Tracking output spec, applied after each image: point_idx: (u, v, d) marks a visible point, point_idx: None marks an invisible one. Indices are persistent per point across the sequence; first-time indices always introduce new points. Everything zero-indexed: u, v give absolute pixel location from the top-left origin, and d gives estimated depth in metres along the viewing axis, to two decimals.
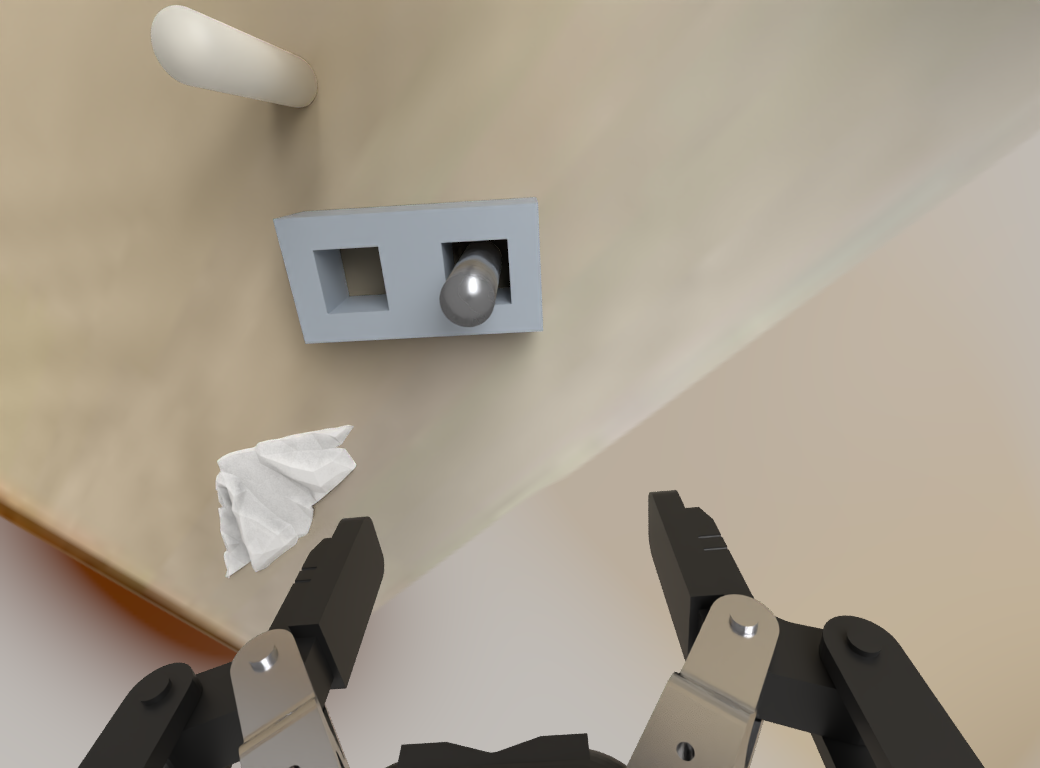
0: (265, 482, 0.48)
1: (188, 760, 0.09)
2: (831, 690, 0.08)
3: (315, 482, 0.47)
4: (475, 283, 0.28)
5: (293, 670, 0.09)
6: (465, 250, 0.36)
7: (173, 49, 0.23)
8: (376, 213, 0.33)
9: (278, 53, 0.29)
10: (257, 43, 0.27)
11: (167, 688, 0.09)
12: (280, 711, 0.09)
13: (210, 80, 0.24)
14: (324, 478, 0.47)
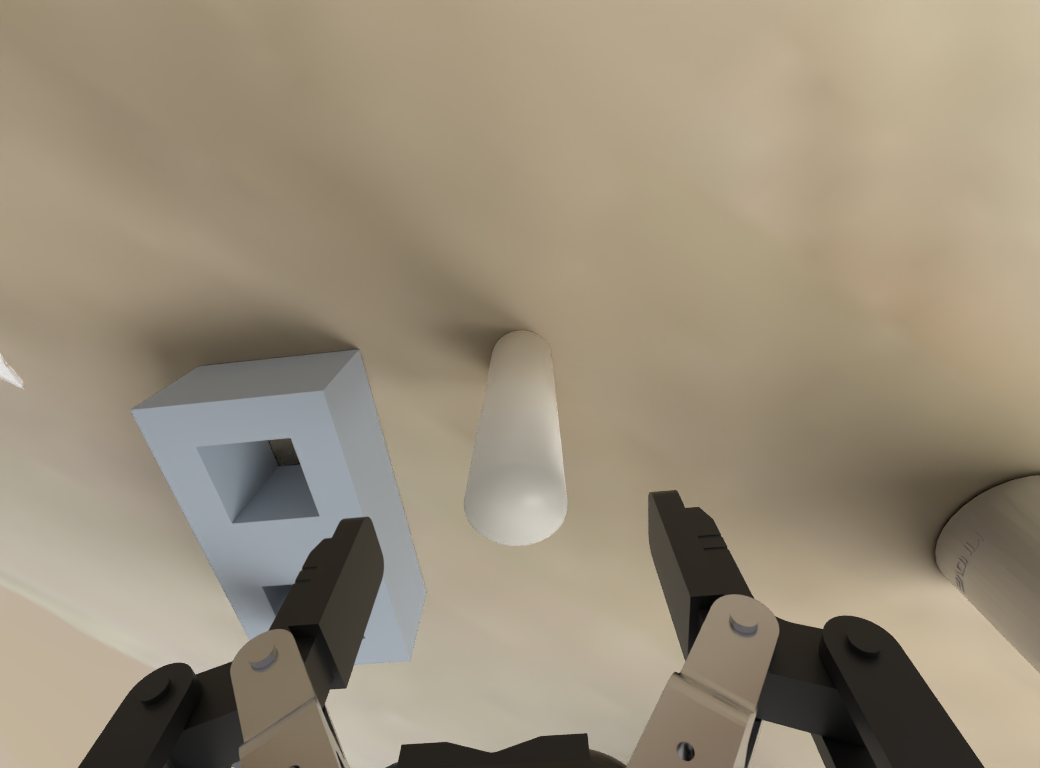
0: None
1: (188, 760, 0.09)
2: (831, 690, 0.08)
3: None
4: None
5: (293, 670, 0.09)
6: None
7: (511, 490, 0.15)
8: (363, 515, 0.24)
9: None
10: None
11: (167, 688, 0.09)
12: (280, 711, 0.09)
13: (473, 527, 0.15)
14: None
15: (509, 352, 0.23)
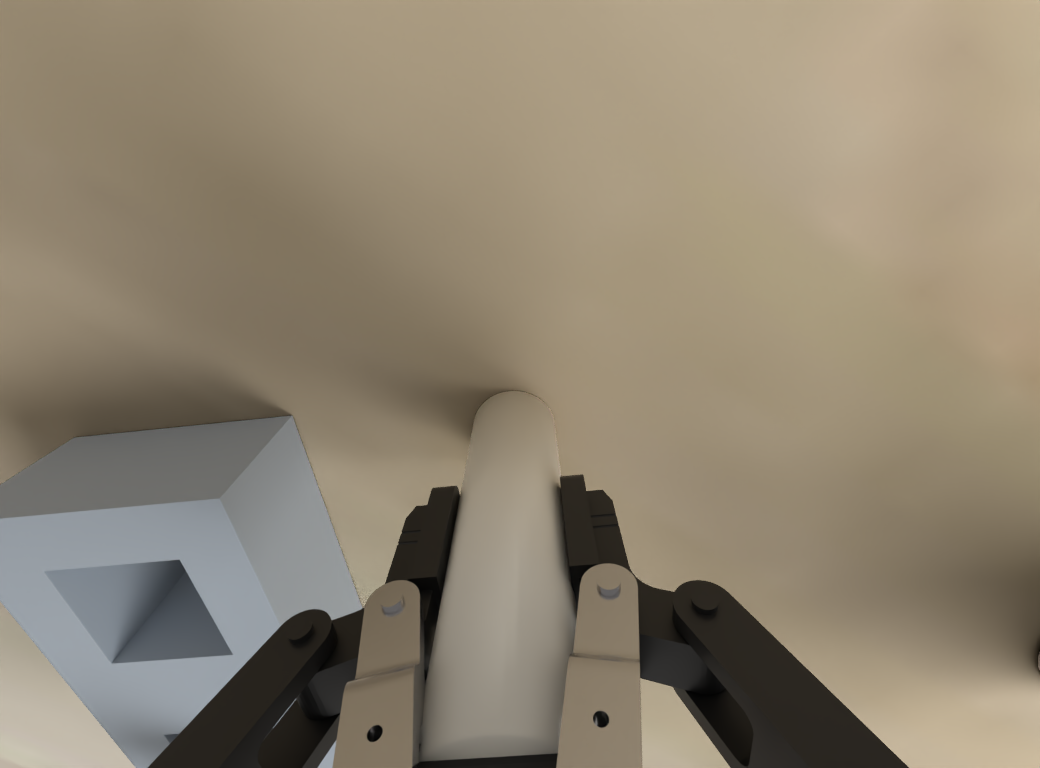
0: None
1: (314, 703, 0.10)
2: (675, 644, 0.10)
3: None
4: None
5: (410, 627, 0.10)
6: None
7: None
8: None
9: None
10: None
11: (310, 630, 0.10)
12: (389, 662, 0.09)
13: None
14: None
15: (496, 433, 0.16)
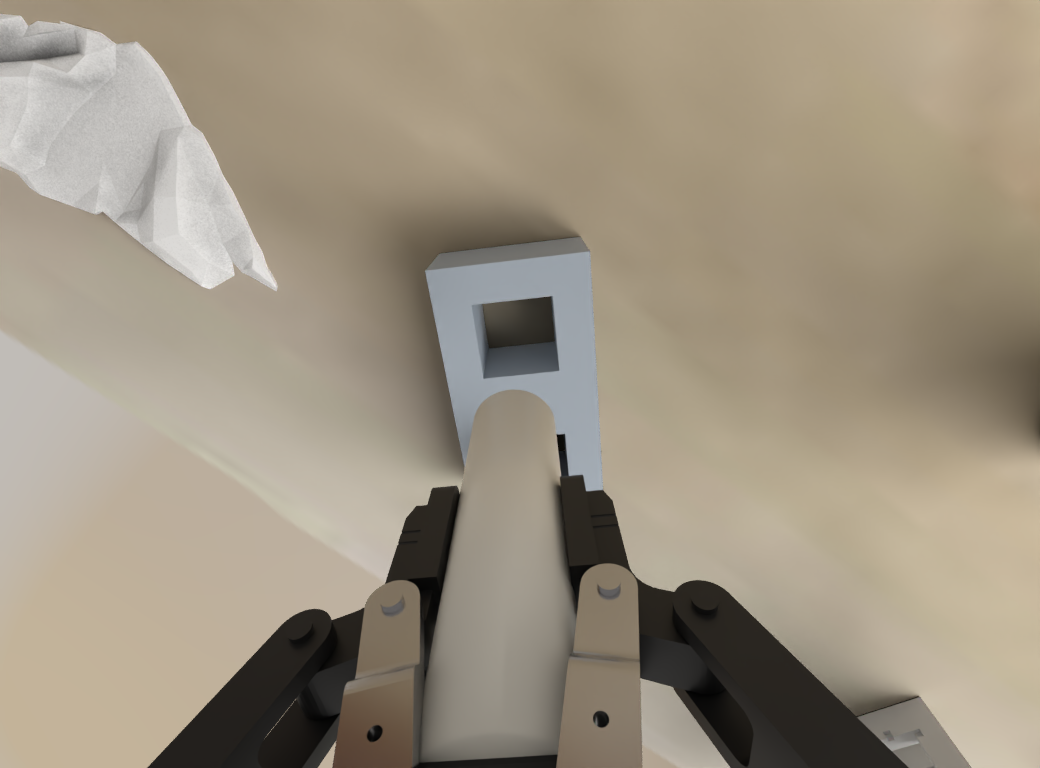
0: (121, 132, 0.28)
1: (314, 703, 0.10)
2: (675, 644, 0.10)
3: (159, 234, 0.29)
4: None
5: (410, 627, 0.10)
6: None
7: None
8: (595, 370, 0.29)
9: None
10: None
11: (310, 630, 0.10)
12: (389, 662, 0.09)
13: None
14: (171, 248, 0.30)
15: (496, 432, 0.16)
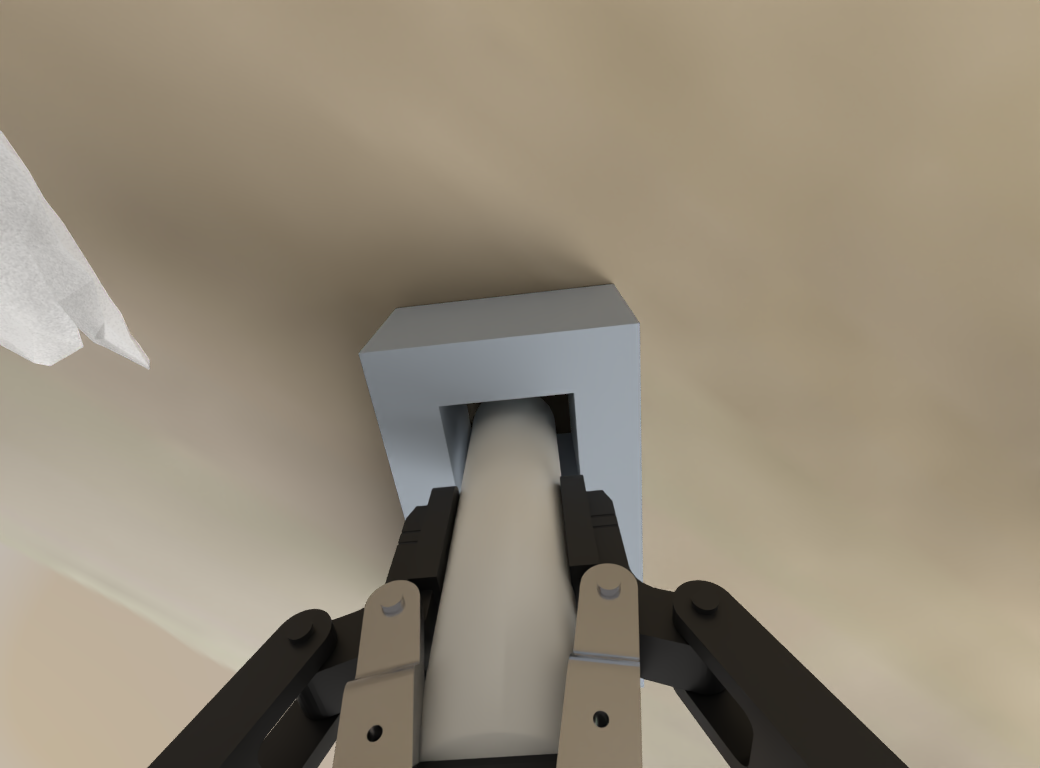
0: None
1: (314, 703, 0.10)
2: (675, 644, 0.10)
3: None
4: None
5: (410, 627, 0.10)
6: None
7: None
8: (640, 501, 0.18)
9: None
10: None
11: (310, 630, 0.10)
12: (389, 662, 0.09)
13: None
14: None
15: (496, 431, 0.16)
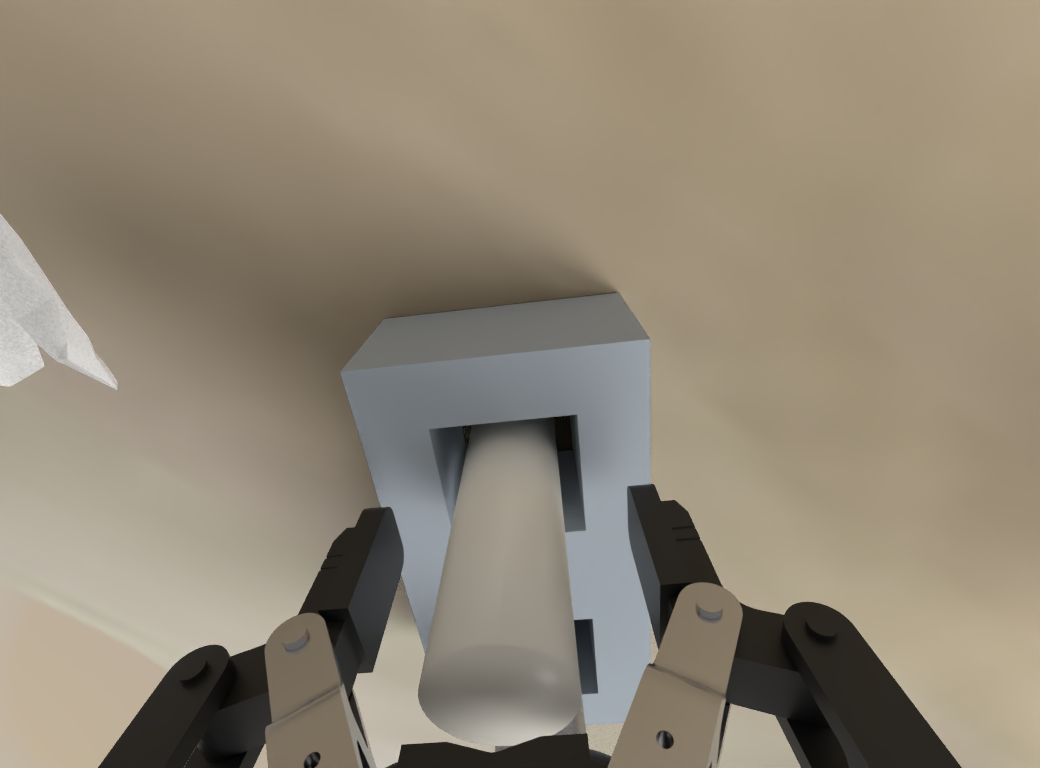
0: None
1: (220, 741, 0.10)
2: (790, 673, 0.09)
3: None
4: None
5: (322, 655, 0.10)
6: None
7: (491, 678, 0.09)
8: None
9: None
10: None
11: (204, 669, 0.10)
12: (307, 695, 0.09)
13: (435, 723, 0.10)
14: None
15: None
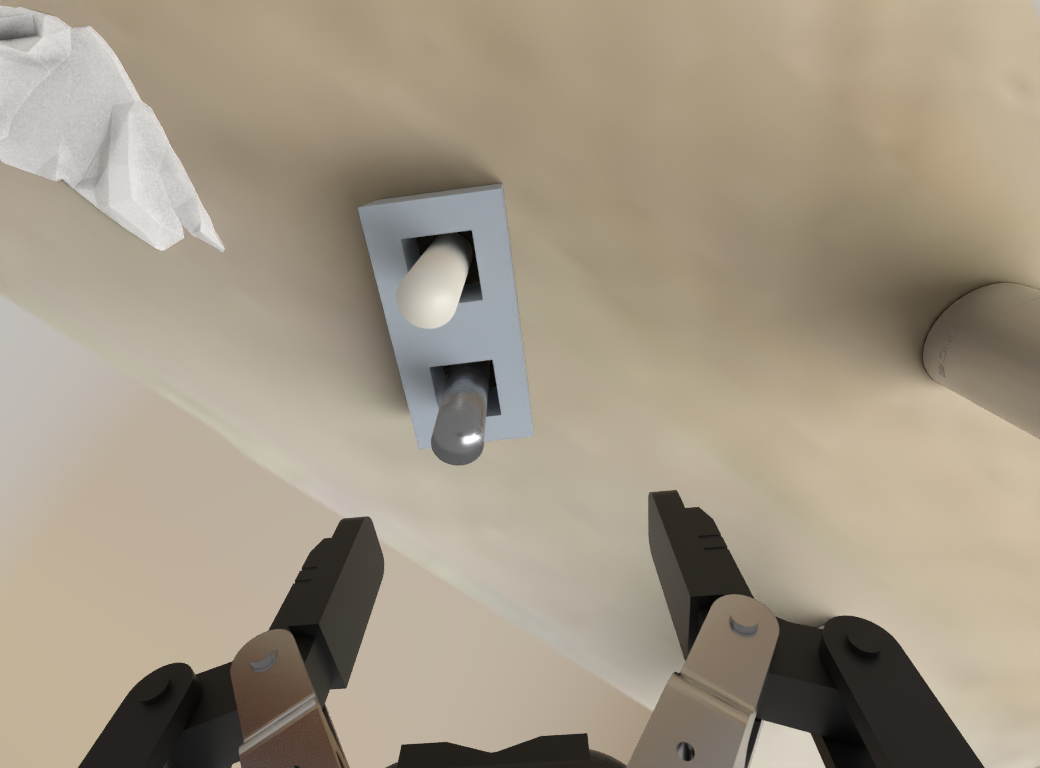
0: (77, 107, 0.32)
1: (188, 760, 0.09)
2: (831, 690, 0.08)
3: (114, 199, 0.33)
4: (474, 449, 0.30)
5: (293, 670, 0.09)
6: (482, 363, 0.38)
7: (423, 288, 0.25)
8: (515, 299, 0.33)
9: None
10: None
11: (167, 688, 0.09)
12: (280, 711, 0.09)
13: (403, 315, 0.26)
14: (126, 212, 0.34)
15: (437, 240, 0.33)
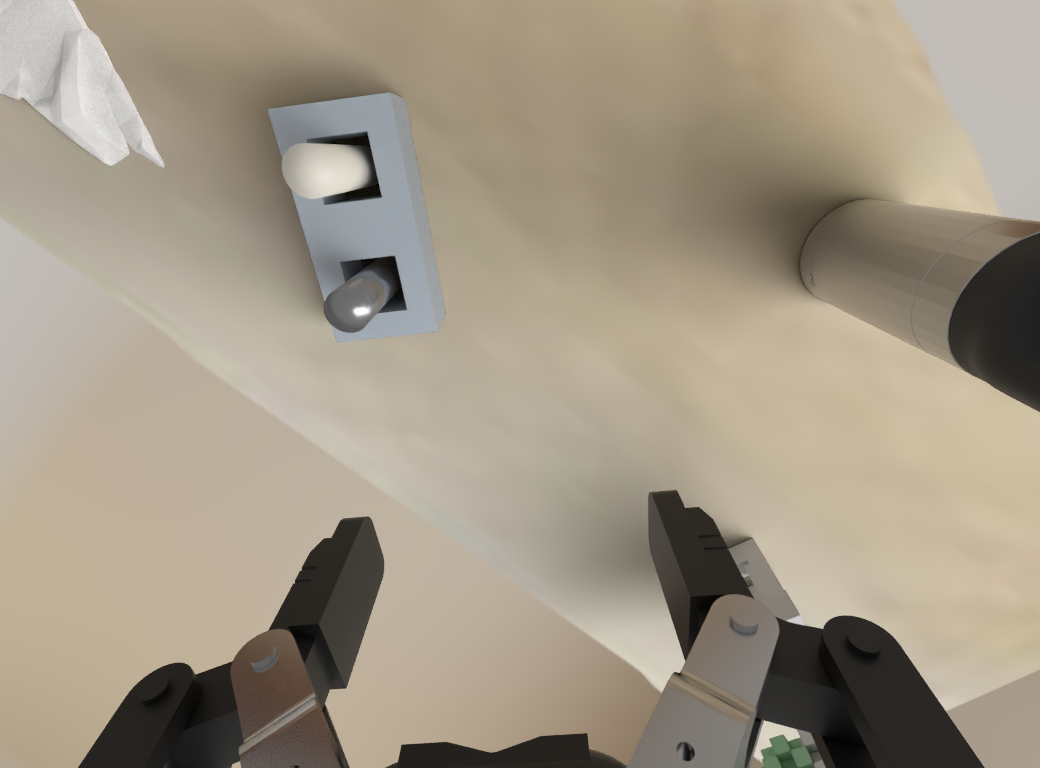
0: (35, 33, 0.37)
1: (188, 760, 0.09)
2: (831, 690, 0.08)
3: (66, 115, 0.38)
4: (362, 317, 0.34)
5: (293, 670, 0.09)
6: (393, 266, 0.42)
7: (303, 160, 0.30)
8: (410, 197, 0.38)
9: (359, 186, 0.37)
10: (350, 188, 0.35)
11: (167, 688, 0.09)
12: (280, 711, 0.09)
13: (289, 186, 0.31)
14: (76, 127, 0.39)
15: None
